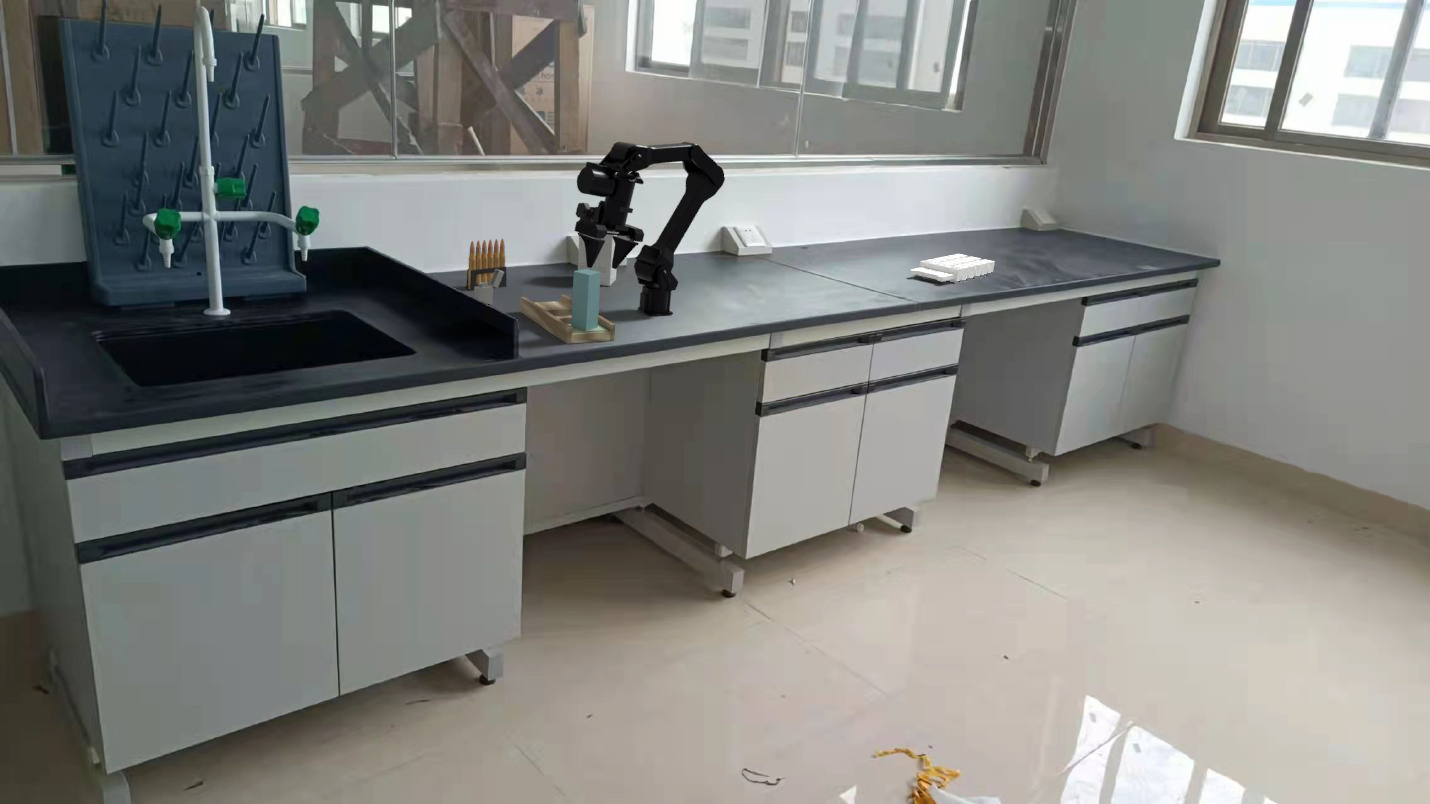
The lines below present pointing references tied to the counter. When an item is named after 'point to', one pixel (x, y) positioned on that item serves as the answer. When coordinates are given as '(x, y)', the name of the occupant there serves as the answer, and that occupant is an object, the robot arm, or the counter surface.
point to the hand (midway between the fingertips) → (601, 268)
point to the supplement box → (600, 260)
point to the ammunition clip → (485, 264)
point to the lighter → (488, 288)
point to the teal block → (585, 299)
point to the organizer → (953, 267)
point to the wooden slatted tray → (565, 321)
